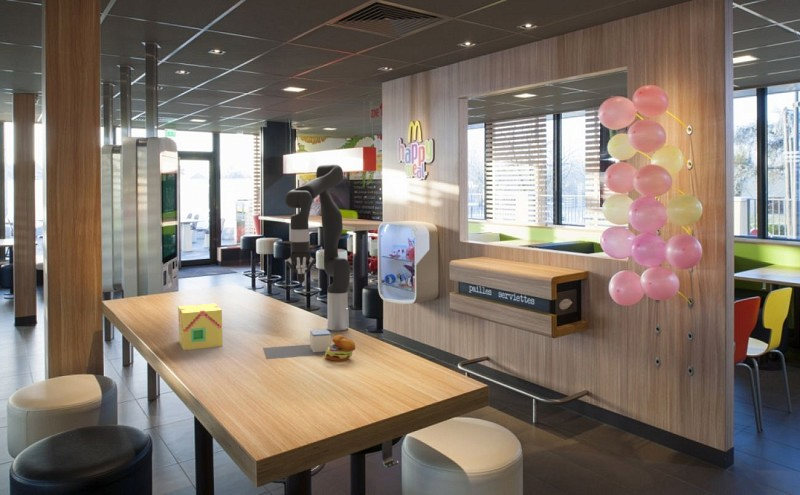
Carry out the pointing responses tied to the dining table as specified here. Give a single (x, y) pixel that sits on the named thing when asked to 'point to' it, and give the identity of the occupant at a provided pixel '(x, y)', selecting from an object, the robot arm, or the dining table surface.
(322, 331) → the cream cube
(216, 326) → the toy block
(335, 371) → the dining table surface
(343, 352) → the cheeseburger
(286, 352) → the rubber mat
